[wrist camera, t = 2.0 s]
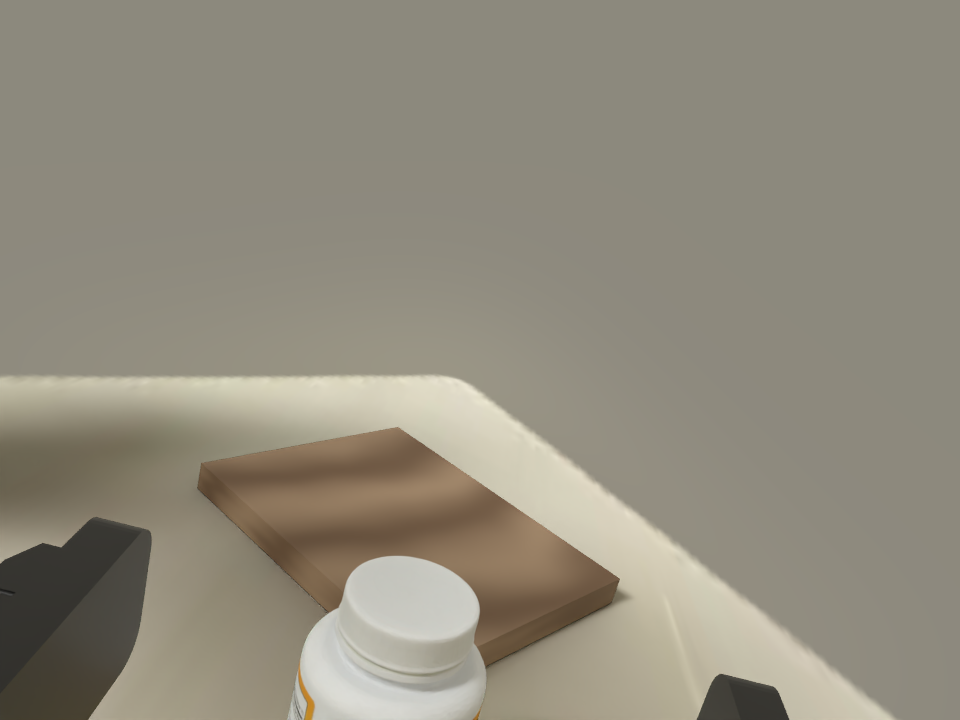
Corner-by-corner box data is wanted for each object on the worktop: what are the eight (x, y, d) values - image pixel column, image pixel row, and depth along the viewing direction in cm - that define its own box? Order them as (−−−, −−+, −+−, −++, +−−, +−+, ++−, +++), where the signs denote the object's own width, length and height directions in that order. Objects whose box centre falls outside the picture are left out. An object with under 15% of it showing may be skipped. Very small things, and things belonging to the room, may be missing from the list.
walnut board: (197, 488, 46) (201, 463, 46) (393, 447, 57) (398, 427, 56) (420, 699, 36) (428, 670, 35) (611, 602, 46) (619, 578, 46)
